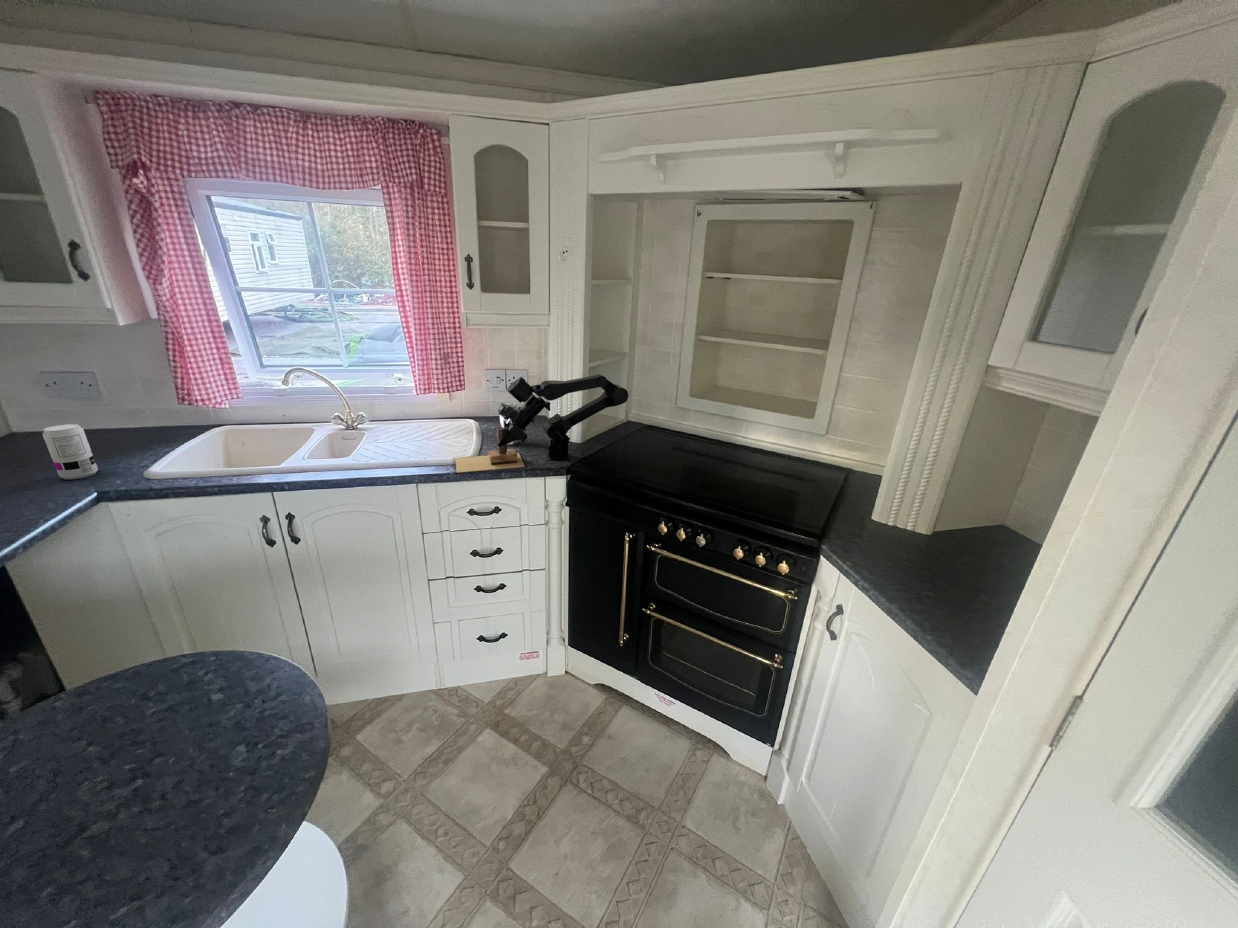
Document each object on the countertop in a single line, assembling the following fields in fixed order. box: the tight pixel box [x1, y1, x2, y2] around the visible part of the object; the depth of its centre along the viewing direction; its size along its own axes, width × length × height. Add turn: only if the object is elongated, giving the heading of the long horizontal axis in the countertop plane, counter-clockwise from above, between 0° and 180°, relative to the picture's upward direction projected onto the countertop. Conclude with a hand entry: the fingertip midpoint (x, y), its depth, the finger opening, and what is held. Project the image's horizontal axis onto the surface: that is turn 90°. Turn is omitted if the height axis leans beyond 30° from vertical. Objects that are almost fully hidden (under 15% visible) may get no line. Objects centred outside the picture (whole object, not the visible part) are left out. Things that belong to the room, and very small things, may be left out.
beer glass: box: [498, 402, 519, 447], centre depth 187 cm, size 7×7×15 cm
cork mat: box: [454, 452, 526, 474], centre depth 169 cm, size 22×14×1 cm, turn 109°
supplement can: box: [42, 423, 99, 480], centre depth 146 cm, size 8×8×15 cm
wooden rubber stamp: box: [488, 426, 518, 465], centre depth 168 cm, size 9×6×12 cm, turn 109°
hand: (497, 444), depth 168 cm, fingers closed on wooden rubber stamp, 3 cm apart
